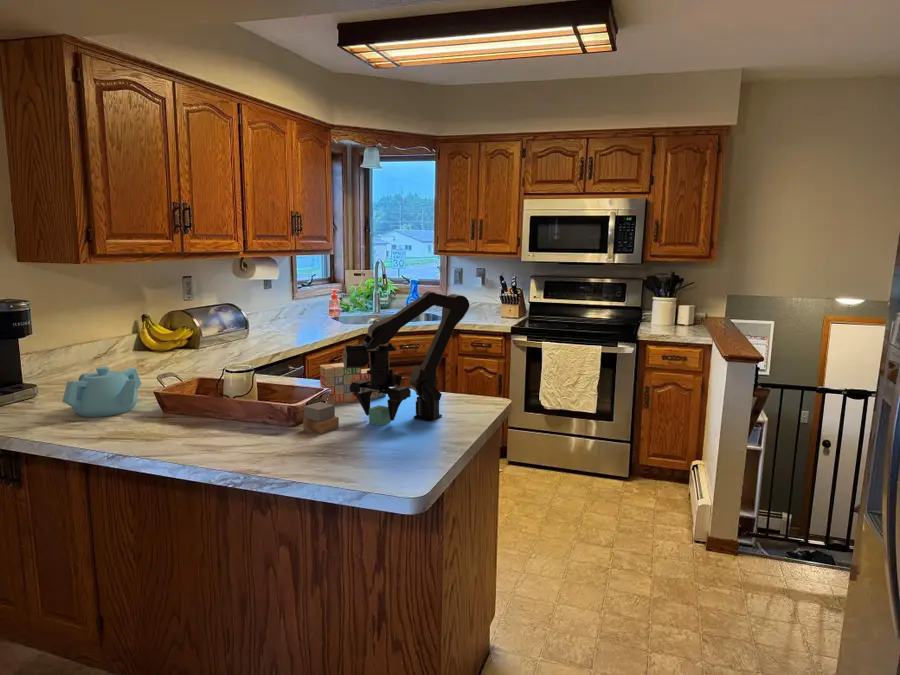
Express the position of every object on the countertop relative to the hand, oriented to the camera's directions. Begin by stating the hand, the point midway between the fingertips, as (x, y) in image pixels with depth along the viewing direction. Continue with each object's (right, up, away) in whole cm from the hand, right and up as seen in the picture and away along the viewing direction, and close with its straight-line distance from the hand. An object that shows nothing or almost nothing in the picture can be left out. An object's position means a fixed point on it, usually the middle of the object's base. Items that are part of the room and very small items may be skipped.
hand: (380, 417), depth 173 cm
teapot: (-86, +1, +10) cm, 87 cm away
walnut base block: (-16, -3, -6) cm, 17 cm away
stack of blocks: (-12, +3, +27) cm, 30 cm away
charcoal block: (-16, +1, -7) cm, 18 cm away
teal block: (0, -1, 0) cm, 2 cm away
